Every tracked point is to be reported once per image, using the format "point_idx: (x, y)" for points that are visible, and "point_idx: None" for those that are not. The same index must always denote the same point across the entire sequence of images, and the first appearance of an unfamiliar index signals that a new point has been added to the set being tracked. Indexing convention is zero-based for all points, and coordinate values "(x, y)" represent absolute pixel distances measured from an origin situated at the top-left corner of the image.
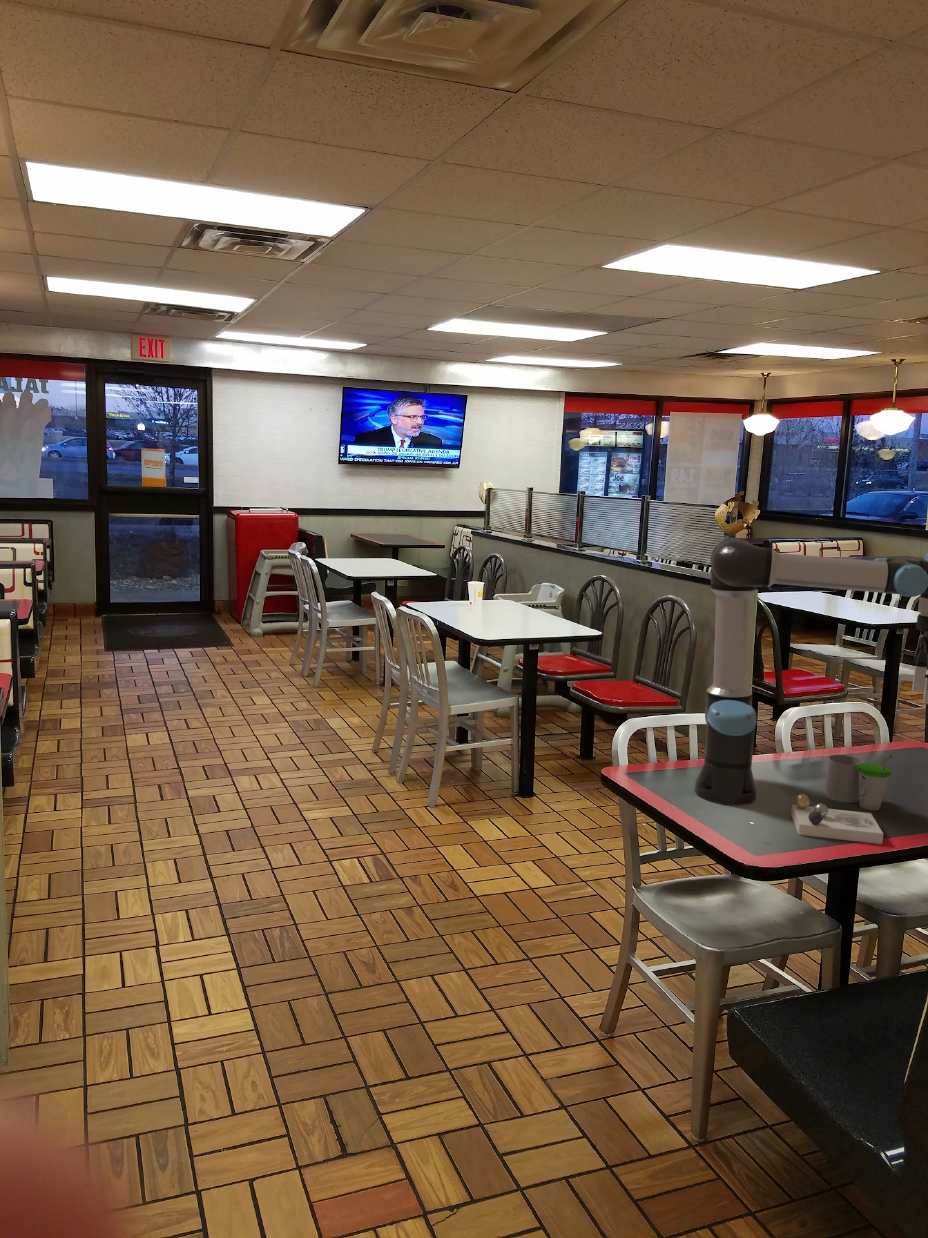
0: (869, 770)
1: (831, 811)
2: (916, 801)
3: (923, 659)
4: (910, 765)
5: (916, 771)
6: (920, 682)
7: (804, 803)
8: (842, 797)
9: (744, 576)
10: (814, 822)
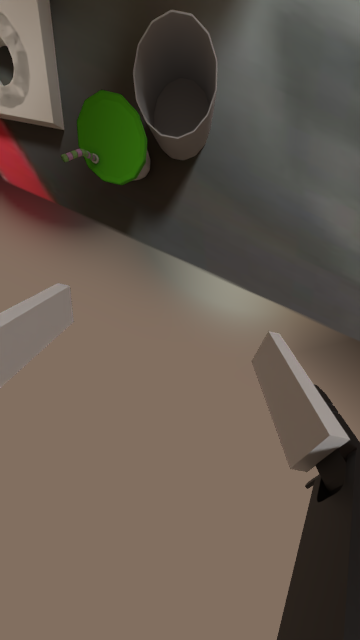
0: (94, 120)
1: (22, 10)
2: (180, 257)
3: (320, 540)
4: (324, 314)
5: (299, 311)
6: (270, 378)
7: None
8: (153, 107)
9: None
10: None
